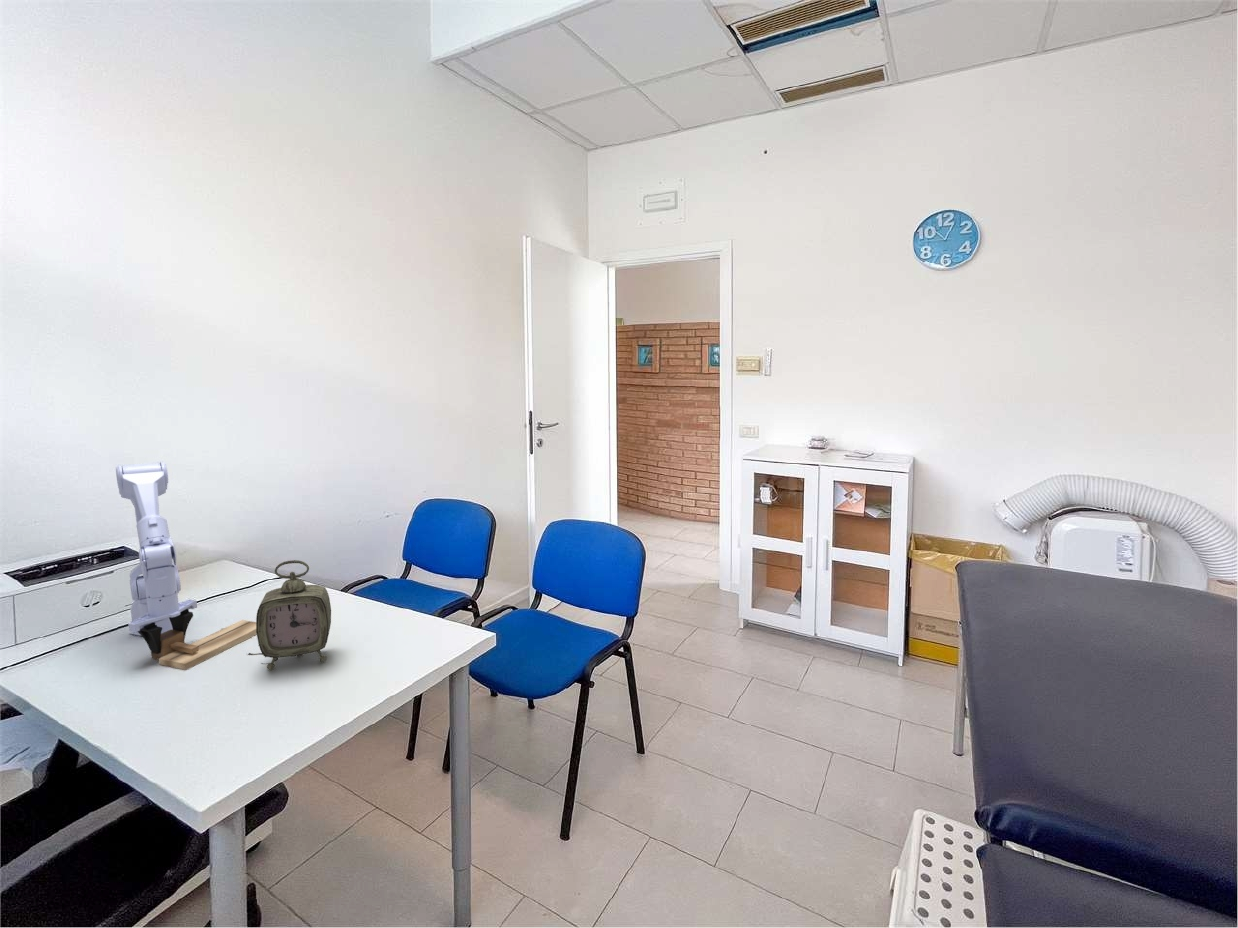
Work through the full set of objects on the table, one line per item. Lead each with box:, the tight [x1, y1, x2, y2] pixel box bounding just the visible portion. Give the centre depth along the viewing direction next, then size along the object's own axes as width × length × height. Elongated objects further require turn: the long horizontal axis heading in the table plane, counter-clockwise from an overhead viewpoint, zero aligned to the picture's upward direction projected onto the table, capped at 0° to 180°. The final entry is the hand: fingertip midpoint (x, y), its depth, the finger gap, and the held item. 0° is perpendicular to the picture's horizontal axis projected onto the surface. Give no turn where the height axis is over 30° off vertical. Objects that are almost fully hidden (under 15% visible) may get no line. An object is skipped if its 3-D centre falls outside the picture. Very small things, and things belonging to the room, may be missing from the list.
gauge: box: [150, 630, 199, 661], centre depth 138 cm, size 10×5×5 cm, turn 75°
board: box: [158, 619, 257, 671], centre depth 144 cm, size 8×22×2 cm, turn 165°
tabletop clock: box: [255, 559, 332, 671], centre depth 135 cm, size 14×9×25 cm, turn 112°
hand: (168, 647), depth 138 cm, fingers closed on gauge, 5 cm apart
